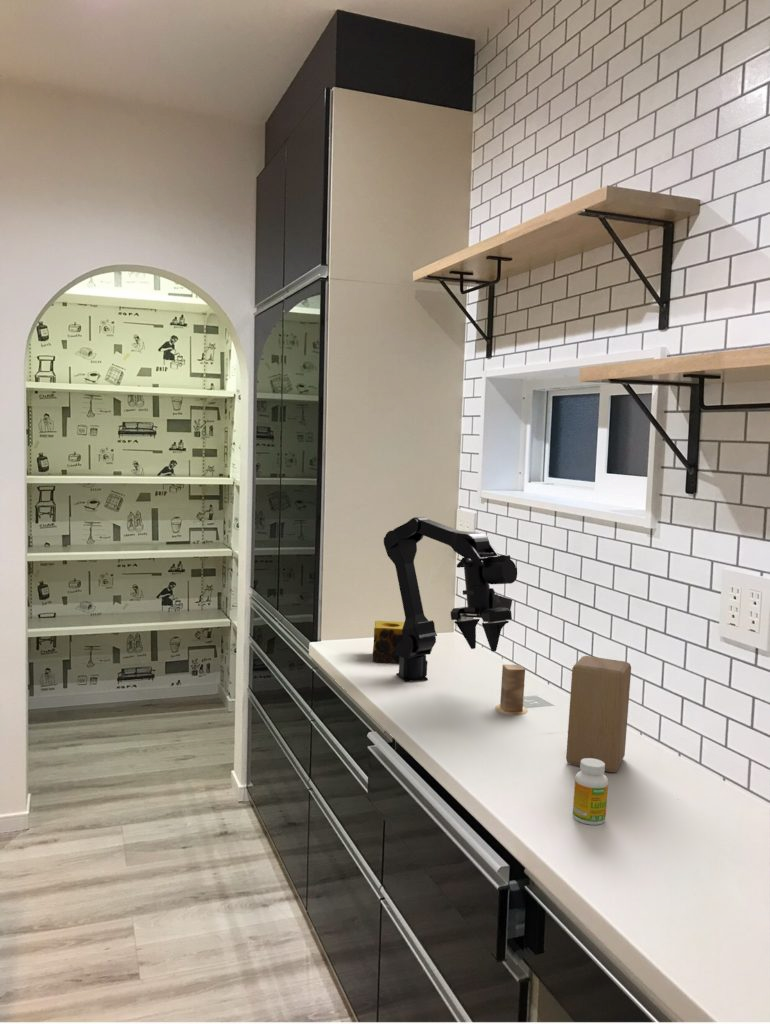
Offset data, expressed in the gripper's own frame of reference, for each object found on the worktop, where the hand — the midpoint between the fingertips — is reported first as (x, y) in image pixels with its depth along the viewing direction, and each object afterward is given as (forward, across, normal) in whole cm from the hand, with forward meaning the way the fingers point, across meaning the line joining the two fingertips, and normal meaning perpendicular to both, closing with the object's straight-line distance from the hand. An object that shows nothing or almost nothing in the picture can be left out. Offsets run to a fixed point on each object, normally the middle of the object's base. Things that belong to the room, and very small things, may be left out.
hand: (483, 650), depth 201 cm
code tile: (+14, -3, -10) cm, 18 cm away
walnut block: (+14, -6, -2) cm, 15 cm away
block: (+20, -38, 0) cm, 43 cm away
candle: (+5, +42, +5) cm, 43 cm away
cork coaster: (+14, -6, -2) cm, 15 cm away
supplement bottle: (+22, -57, +18) cm, 64 cm away
